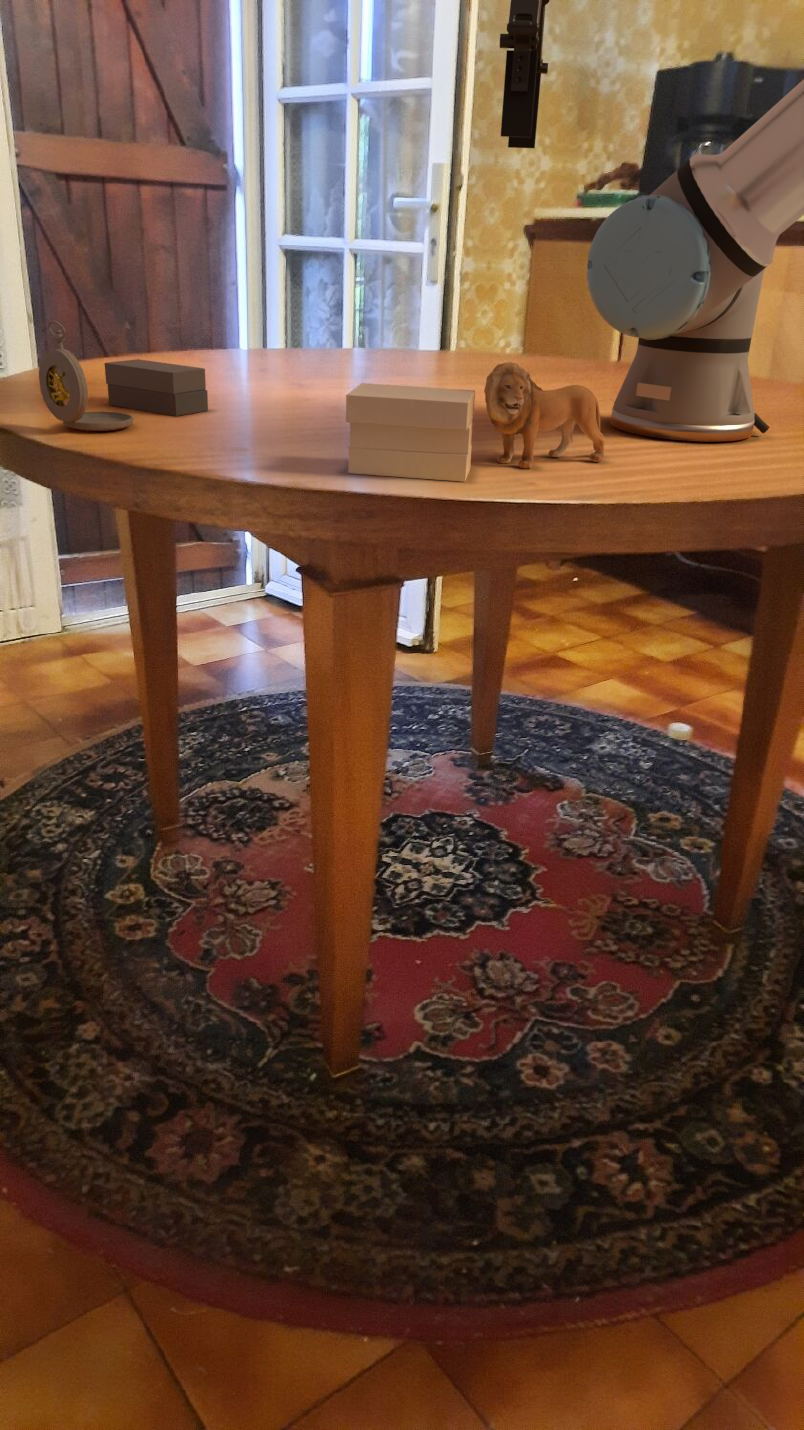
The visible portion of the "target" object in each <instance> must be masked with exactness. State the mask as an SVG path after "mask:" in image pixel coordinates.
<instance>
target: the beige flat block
mask: <svg viewBox="0 0 804 1430" xmlns="http://www.w3.org/2000/svg"><path fill="white" fill-rule="evenodd" d="M475 398H476V390H475V389H463V388H462V389H460V388H459V389H458V388H446V387H445V388H443V387H429V386H414V385H412V386H411V385H399V384H398V385H397V384H382V383H366V382H365V383H364V382H362V383H360V384H359V385H357V386H356V387H354V388H353V389H352V390H350V392H348V393H347V394H346V396H345V422H346V423H350V422H353V423H367V424H382V425H397V426H412V427H427V428H442V429H456V430H467V428H468V426H469V424H470V422H471V420H472V418H474V416H475V400H476V399H475Z"/></svg>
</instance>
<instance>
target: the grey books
mask: <svg viewBox="0 0 804 1430" xmlns="http://www.w3.org/2000/svg"><path fill="white" fill-rule="evenodd" d="M104 375H105V384H106V385H107V395H108V397H107V398H108V405H109V406H114V407H119V408H126V409H132V410H138V411H144V412H149V413H154V414H155V413H156V414H162V415H167V416H168V415H169V416H173V417H180V416H185V415H191V414H198V413H202V412H208V411H209V400H208V399H209V397H208V389H207V384H206V383H207V381H206V368H204V367H196V366H189V365H183V364H175V363H168V362H160V361H154V360H153V361H152V360H146V359H139V358H136V359H127V360H117V361H109V362H104Z"/></svg>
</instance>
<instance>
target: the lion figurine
mask: <svg viewBox="0 0 804 1430" xmlns="http://www.w3.org/2000/svg"><path fill="white" fill-rule="evenodd" d="M483 392H484V397H485V399H484V400H485V405H486V412H487V413H488V417H489V420H490V423H491V425H493V427H494V429H495V430H496V431H498V432H501V435H502V437H501V438H502V447H503V454H501V455H499V456H497V459H496V461H497V463H500V464H509V463H510V462H511V461H512V458H513V455H514V452H515V449H514V444H515V437H516V436H517V435H519V434H521V437H522V441H523V449H522V455H521V459H520V461H518V468H520V469H527V470H528V469H531V468H533V465H534V448H535V443H536V439H537V436H538V433H546V432H551V431H554V430H556V429H557V428H559V429H560V433H561V440H560V443H559V445H558V446H557V448H554V449H549V451H548V456H549V457H552V458H561V457H563V455H564V454H565V452H566V451H567V450H568V448H569V447H570V446H571V445H572V444H573V441H574V438H573V437H574V436H573V432H574V429H575V427H576V426H578V427H579V429H580V430H581V432H582V433H583V434H584V436H586V437H587V439H589V440H590V441H591V442H592V446H593V450H594V452H592V453H590V455H589V460H590V461H591V462H596V463H597V462H598V463H599V462H600V463H601V462H602V461H603V460H604V454H605V453H604V452H605V437H604V434H603V433H602V432H601V412H600V406H599V402H598V400H597V396H596V395H595V394H594V392H593V391H592V390H591V389H589V388H588V387H587V386H584V385H579V384H571V385H566V386H563V387H560V388H556V389H550V390H543V388H541V387H540V386H538V385H537V384H536V382H534V381H533V380H532V378H531V373H530V372H529V371H527V370H526V369H525V368H523V367H521V366H520V365H519V364H518V363H516V362H513V361H509V362H508V361H507V362H502V363H498V364H497V365H495V366H494V368H493V369H492V371H491V372H490V373H489V374H488V375H487V376H486V379H485V384H484V390H483Z"/></svg>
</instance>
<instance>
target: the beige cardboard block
mask: <svg viewBox="0 0 804 1430" xmlns="http://www.w3.org/2000/svg"><path fill="white" fill-rule="evenodd" d="M473 418H474V417H473ZM473 418H472V420H471V422H470V424H469V426H468V428H467V430H456V429H442V428H427V427H412V426H397V425H382V424H367V423H353V422H349V446H348V466H347V467H348V470H347V473H348V474H354V475H369V476H380V477H381V476H382V477H393V478H395V477H396V478H410V479H423V480H436V481H452V482H461V483H462V482H464V483H465V482H466V481H467V478H468V476H469V474H470V472H471V464H472V450H473V444H472V436H473V423H474V419H473Z"/></svg>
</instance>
